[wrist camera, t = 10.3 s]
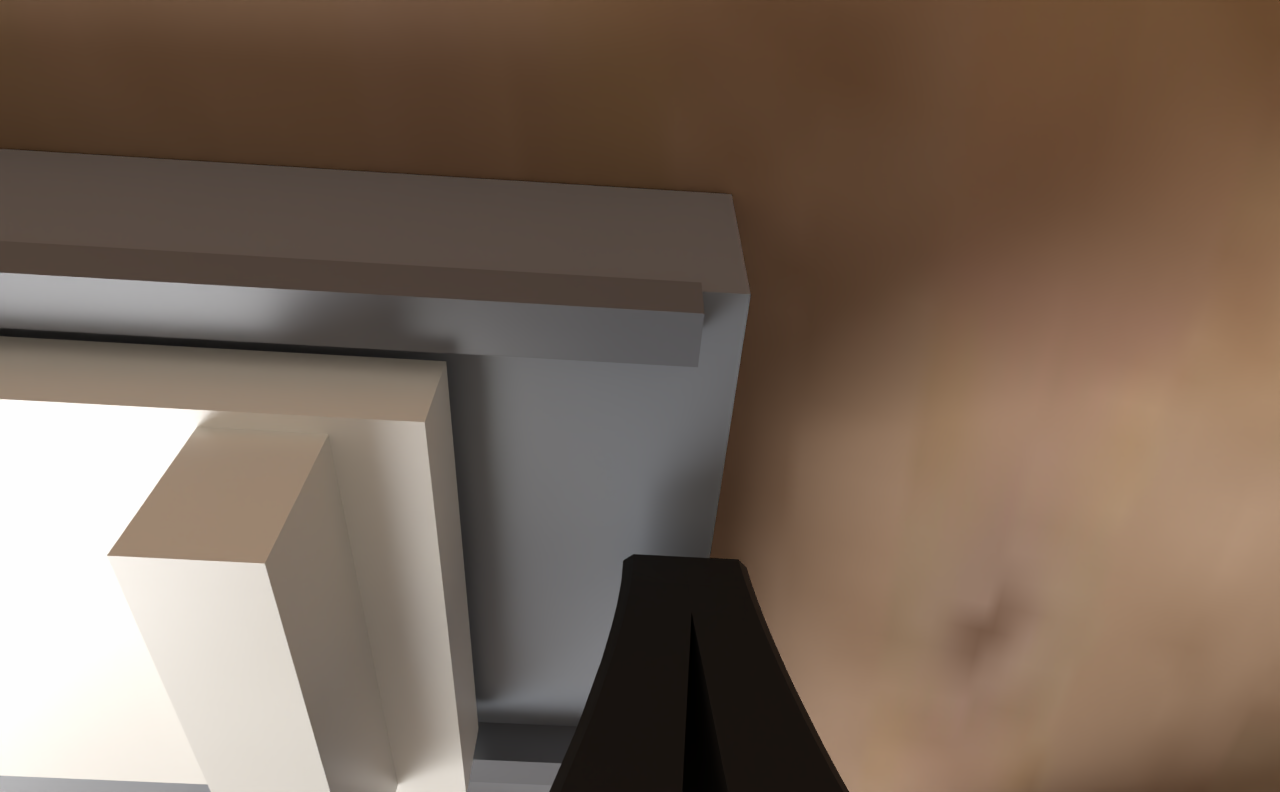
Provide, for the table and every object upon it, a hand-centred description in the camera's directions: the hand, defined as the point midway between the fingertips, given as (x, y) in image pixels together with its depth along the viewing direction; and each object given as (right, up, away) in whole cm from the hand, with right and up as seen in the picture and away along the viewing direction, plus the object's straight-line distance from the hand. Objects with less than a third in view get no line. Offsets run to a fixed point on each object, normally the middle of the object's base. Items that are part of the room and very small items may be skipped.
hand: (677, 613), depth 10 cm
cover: (-8, +1, 0) cm, 8 cm away
